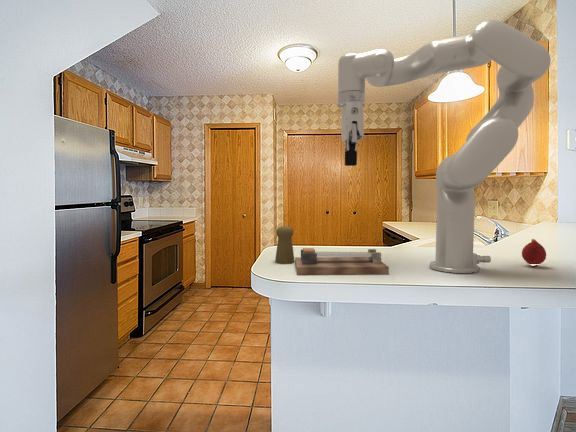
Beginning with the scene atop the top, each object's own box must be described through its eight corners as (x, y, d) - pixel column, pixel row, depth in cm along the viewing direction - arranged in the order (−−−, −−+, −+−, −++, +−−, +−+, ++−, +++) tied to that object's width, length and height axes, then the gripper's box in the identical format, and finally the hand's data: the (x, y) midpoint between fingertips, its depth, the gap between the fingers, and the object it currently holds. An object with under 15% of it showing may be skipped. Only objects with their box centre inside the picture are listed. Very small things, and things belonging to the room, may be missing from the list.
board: (374, 263, 110) (375, 246, 110) (388, 274, 96) (389, 255, 96) (295, 264, 110) (295, 247, 109) (297, 275, 96) (297, 256, 95)
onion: (545, 266, 106) (546, 238, 105) (546, 269, 101) (547, 241, 100) (521, 263, 109) (522, 237, 108) (521, 267, 104) (522, 239, 104)
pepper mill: (292, 264, 109) (292, 227, 108) (272, 263, 110) (272, 227, 109) (296, 260, 115) (296, 225, 114) (277, 259, 116) (277, 225, 115)
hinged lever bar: (374, 255, 105) (374, 248, 104) (377, 257, 101) (378, 250, 101) (302, 254, 104) (302, 247, 104) (303, 256, 101) (303, 250, 101)
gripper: (370, 93, 97) (369, 163, 98) (358, 106, 112) (358, 167, 113) (342, 93, 97) (342, 163, 98) (334, 106, 112) (333, 167, 113)
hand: (350, 165), depth 106 cm, fingers closed
